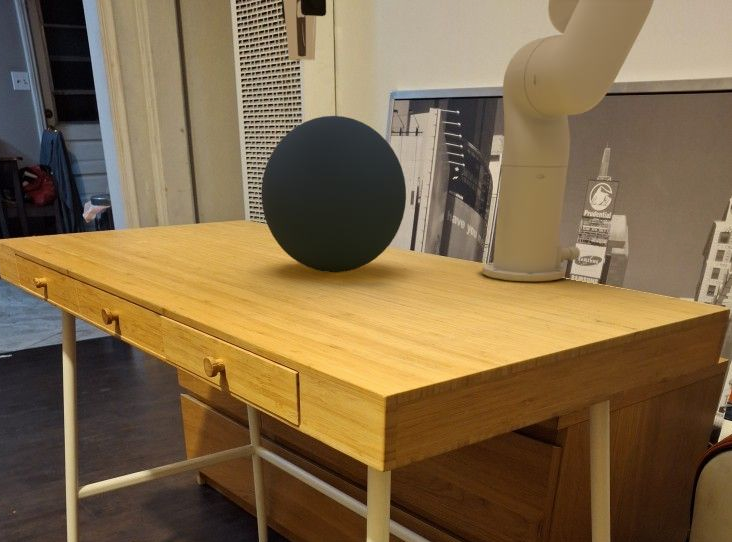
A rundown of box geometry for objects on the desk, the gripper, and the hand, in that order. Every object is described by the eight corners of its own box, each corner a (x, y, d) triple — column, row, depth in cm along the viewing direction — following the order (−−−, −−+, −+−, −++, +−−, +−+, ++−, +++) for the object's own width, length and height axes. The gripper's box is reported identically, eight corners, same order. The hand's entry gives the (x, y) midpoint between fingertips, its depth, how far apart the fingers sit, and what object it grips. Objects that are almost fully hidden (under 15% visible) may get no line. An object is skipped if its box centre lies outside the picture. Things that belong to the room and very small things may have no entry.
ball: (361, 257, 133) (363, 117, 123) (430, 277, 116) (438, 116, 106) (244, 266, 124) (235, 115, 114) (300, 289, 107) (296, 113, 97)
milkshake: (326, 59, 95) (325, -39, 90) (284, 59, 94) (280, -39, 90) (325, 61, 99) (323, -33, 94) (284, 60, 98) (280, -33, 94)
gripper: (363, -190, 81) (363, 11, 90) (295, -146, 94) (301, 26, 103) (301, -203, 78) (307, 7, 86) (239, -155, 91) (250, 23, 100)
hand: (303, 16), depth 94 cm, fingers closed on milkshake, 4 cm apart
